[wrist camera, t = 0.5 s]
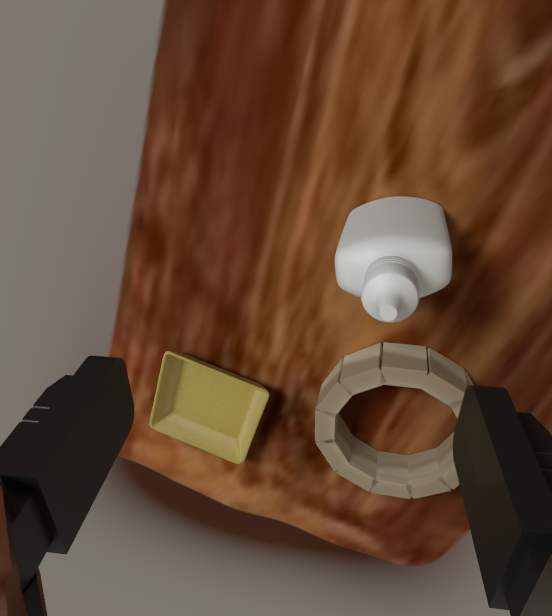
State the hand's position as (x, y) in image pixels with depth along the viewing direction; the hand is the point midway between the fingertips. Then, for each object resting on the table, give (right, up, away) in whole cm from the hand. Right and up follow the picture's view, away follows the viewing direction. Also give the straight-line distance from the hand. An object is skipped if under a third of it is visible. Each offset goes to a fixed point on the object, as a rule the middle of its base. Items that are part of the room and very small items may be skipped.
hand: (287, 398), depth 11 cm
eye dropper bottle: (+7, +7, +18) cm, 21 cm away
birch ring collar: (+9, -5, +24) cm, 27 cm away
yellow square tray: (-5, -5, +29) cm, 30 cm away
